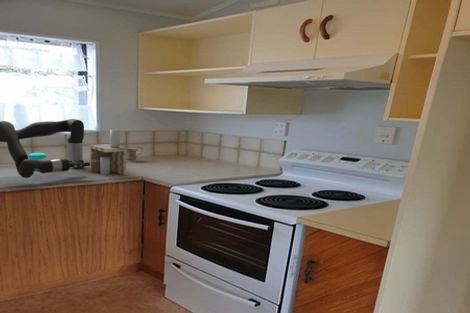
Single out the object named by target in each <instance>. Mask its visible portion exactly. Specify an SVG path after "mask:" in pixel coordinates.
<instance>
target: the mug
mask: <svg viewBox="0 0 470 313" xmlns="http://www.w3.org/2000/svg"><path fill="white" fill-rule="evenodd" d="M138 149H141V153H138V154H137V152H138ZM143 152H144V149H143V148H142V147H141V146H137V148H126V164H127V163H131V164H133V163H134V162H135V163H137V162H138V161H137V157H138V156H140V155H141V154H143Z"/></svg>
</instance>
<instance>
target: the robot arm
mask: <svg viewBox="0 0 470 313" xmlns="http://www.w3.org/2000/svg"><path fill="white" fill-rule="evenodd" d="M59 133H70V136H69V137H68V138H67V158H57V159H49V160H46V159H45V160H34V159H30V158H29V154H28V153H27V152H26V151H25V149H24V147H23V145H22V143H21V141H20V140H24V139H30V138H39V137H48V136H52V135H55V134H59ZM84 137H85V125H84V122H83V121H82V120H81V119H76V118H70V119H65V120H59V121H57V120H56V121H37V122H32V123H30V124H28V125H26V126H24V127H23V128H21V129H16V127H15V126H14V124H13V123H11V122H10V121H6V120H2V121H0V143H7V149H8V151H9V155H10V156H11V159H12V160H13V162H14V163H15V169H16V171H17V174H18V175H19V176H20V177H22V178H24V179H28V178H31V177H32V176H33V175H34V173H35V170H34V169H36V168H37V169H38V170H37V171H38V172H39V173H41V174H49V173H62V172H69V170H70V169H81V168H82V169H84V168H85V167H91V161H90V162H84V159H83V158H84V157H83V155H84V154H83V153H84V149H83V147H84V146H83V141H84V139H85V138H84Z"/></svg>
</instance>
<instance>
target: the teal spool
mask: <svg viewBox="0 0 470 313" xmlns="http://www.w3.org/2000/svg"><path fill="white" fill-rule="evenodd" d="M46 157H47V154H46V153H43V152H32V153H29V154H28V159H34V160H40V161H42V160H44V159H45V158H46ZM34 171H39V170H38V169H37V168H36V169H34Z"/></svg>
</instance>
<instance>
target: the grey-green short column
mask: <svg viewBox="0 0 470 313" xmlns="http://www.w3.org/2000/svg"><path fill="white" fill-rule="evenodd" d="M99 174H100V175H102V176H109V175H110V174H111V171H110V157H100V172H99ZM110 176H111V175H110Z"/></svg>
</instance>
